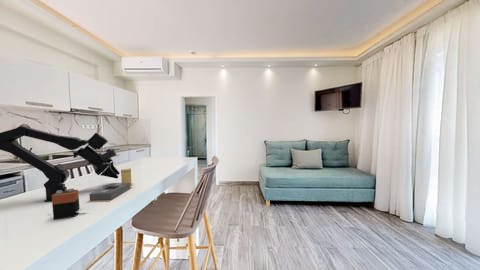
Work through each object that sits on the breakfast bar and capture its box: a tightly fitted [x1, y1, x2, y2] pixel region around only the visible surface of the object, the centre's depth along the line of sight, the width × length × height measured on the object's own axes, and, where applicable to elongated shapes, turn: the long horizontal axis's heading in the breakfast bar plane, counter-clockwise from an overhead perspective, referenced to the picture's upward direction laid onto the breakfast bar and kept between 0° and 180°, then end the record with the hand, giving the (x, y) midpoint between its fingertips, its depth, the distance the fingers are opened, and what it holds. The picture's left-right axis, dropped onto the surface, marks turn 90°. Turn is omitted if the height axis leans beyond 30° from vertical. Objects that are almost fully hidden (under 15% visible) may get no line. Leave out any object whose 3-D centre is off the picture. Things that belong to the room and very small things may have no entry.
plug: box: [120, 168, 133, 187], centre depth 110 cm, size 4×4×10 cm
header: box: [85, 182, 134, 204], centre depth 97 cm, size 10×20×5 cm, turn 1°
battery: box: [51, 188, 81, 220], centre depth 78 cm, size 4×7×10 cm, turn 111°
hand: (118, 175), depth 108 cm, fingers open, 9 cm apart
